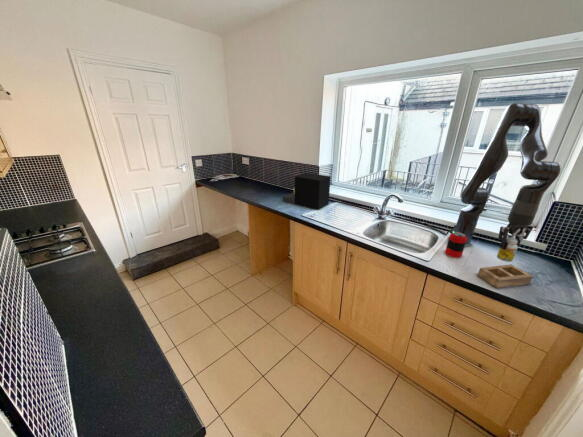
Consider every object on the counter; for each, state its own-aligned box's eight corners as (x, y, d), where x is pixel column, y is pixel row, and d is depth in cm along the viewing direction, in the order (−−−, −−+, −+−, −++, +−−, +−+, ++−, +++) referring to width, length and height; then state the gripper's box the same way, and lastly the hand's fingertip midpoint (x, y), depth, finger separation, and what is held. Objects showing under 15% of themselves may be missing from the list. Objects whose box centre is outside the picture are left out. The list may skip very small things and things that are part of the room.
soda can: (447, 256, 128) (453, 236, 123) (443, 249, 135) (448, 230, 130) (463, 258, 126) (470, 238, 122) (458, 251, 133) (464, 232, 128)
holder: (477, 275, 114) (480, 267, 112) (508, 271, 116) (511, 264, 115) (496, 288, 105) (500, 280, 103) (529, 283, 108) (533, 276, 106)
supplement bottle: (514, 260, 105) (523, 241, 101) (507, 263, 103) (515, 243, 99) (500, 254, 109) (508, 235, 106) (493, 257, 107) (501, 238, 104)
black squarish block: (294, 196, 222) (294, 170, 213) (328, 204, 204) (330, 176, 195) (282, 201, 209) (282, 174, 200) (318, 210, 190) (319, 180, 181)
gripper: (527, 207, 102) (513, 242, 109) (499, 209, 100) (486, 245, 106) (548, 213, 95) (531, 251, 102) (518, 216, 93) (502, 254, 99)
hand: (508, 248), depth 104 cm, fingers closed on supplement bottle, 5 cm apart
